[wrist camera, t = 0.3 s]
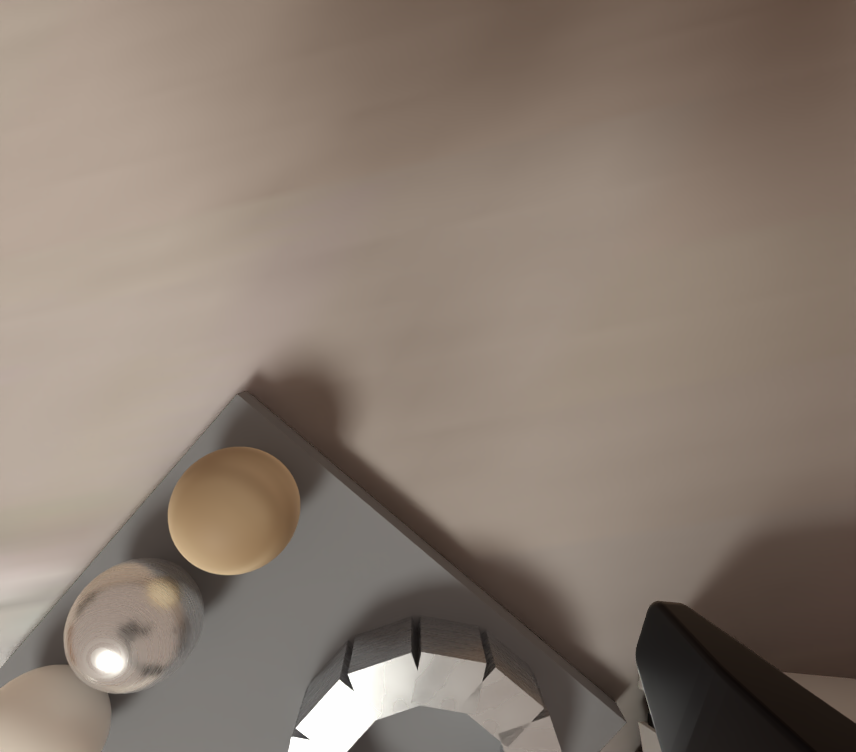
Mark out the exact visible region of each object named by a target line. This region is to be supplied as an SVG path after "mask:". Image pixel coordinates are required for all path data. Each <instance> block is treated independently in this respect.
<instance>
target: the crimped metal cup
mask: <svg viewBox="0 0 856 752" xmlns="http://www.w3.org/2000/svg"><path fill="white" fill-rule="evenodd" d="M417 706H426V707H432V708H438V709H444V710H450V711H456V712H461V713H466V714H468V715H469V716H470V717H471V718H472V719H474V720H475V721H476V722H477V723H479V724H480V725H481V726H482V727H483V728H485V729H486V730H487V731H488V732H489V733H491V734H492V735H493V736H494V737H496V738H497V739H498V740H499V741H500V742H501V747H500V752H562V751H561V748H560V745H559V742H558V739H557V736H556V733H555V730H554V727H553V724H552V721H551V718H550V715H549V713H548V710H547V707H546V704H545V701H544V699H543V696H542V693H541V690H540V687H539V685H538V682H537V679H536V676H535V673H532V672H531V669H530V666H529V665H528V664H527V663H526V662H524V661H523V660H522V659H521V658H520V657H519V656H517V655H516V654H515V653H514V652H513V651H511V650H510V649H509V648H508V647H507V646H505V645H504V644H503V643H502V642H501V641H499V640H498V639H497V638H496V637H495V636H493V635H492V634H491V633H490V632H489V631H488V630H485V631H484V632H483V633H482V634H481V636H480V632H479V628H478V625H472V624H466V623H461V622H455V621H450V620H444V619H438V618H433V617H427V616H421V615H420V620H419V625H418V630H417V631H416V628H415V625H414V622H413V619H412V616H410V617H407V618H404V619H401V620H398V621H395V622H392V623H389V624H386V625H383V626H381V627H378V628H375V629H372V630H369V631H366V632H363V633H360V634H357V635H355V640H354V645H353V644H352V643H351V642H350V641H348V640H347V642H346V643H345V644H344V645H343V646H342V647H341V648H340V649H339V650H338V652H337V653H336V654H335V655H334V656H333V657H332V658H331V659H330V661H329V662H328V663H327V664H326V665H325V666H324V667H323V668H322V669H321V671H320V672H319V673H318V674H317V675H316V676H315V677H314V678H313V679H312V681H311V682H310V683H309V686H308V689H307V691H305V694H304V697H303V701H302V704H301V707H300V711H299V714H298V717H297V721H296V724H295V727H294V730H293V734H292V737H291V742H290V747H289V752H347V751H348V750H349V749H350V748H351V747H352V746H353V745H354V743H355V742H356V741H357V740H358V739H359V738H360V737H361V736H362V735H363V733H364V732H365V731H366V730H367V729H368V728H369V727H370V726H371V725H372V724H373V722H374V721H376V720H378V719H381V718H384V717H387V716H390V715H393V714H396V713H399V712H402V711H405V710H408V709H411V708H414V707H417Z"/></svg>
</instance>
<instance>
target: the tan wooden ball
mask: <svg viewBox="0 0 856 752" xmlns="http://www.w3.org/2000/svg"><path fill="white" fill-rule="evenodd" d="M299 516H300V495H299V490H298V487H297V484H296V482H295V480H294V478H293V476H292V474H291V473H290V471H289V470H288V469H287V468H286V466H285V465H284V464H283V463H282V462H281V461H279V460H278V459H277V458H275V457H274V456H272V455H270V454H269V453H267V452H264V451H262V450H259V449H255V448H251V447H229V448H224V449H220V450H217V451H214V452H212V453H209V454H207V455H205V456H204V457H202V458H200V459H199V460H198V461H196V462H195V463H194V464H192V465H191V466H190V467H189V468H188V469H187V470H186V471H185V472H184V474H183V475H182V476H181V478H180V479H179V481H178V482H177V484H176V486H175V488H174V490H173V492H172V495H171V498H170V502H169V506H168V525H169V531H170V534H171V537H172V540H173V542H174V544H175V546H176V547H177V549H178V550H179V552H180V553H181V554H182V555H183V557H185V558H186V559H187V560H188V561H189V562H190V563H192V564H193V565H194V566H196V567H198V568H200V569H202V570H204V571H207V572H210V573H214V574H220V575H238V574H244V573H247V572H251V571H254V570H256V569H259V568H261V567H262V566H264V565H266V564H268V563H269V562H270V561H272V560H273V559H274V558H276V557H277V556H278V555H279V554H280V553H281V552H282V551H283V550H284V548H285V547H286V546H287V544H288V543H289V542H290V540H291V538H292V537H293V535H294V532H295V530H296V527H297V525H298V521H299Z"/></svg>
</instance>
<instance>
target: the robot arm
mask: <svg viewBox="0 0 856 752" xmlns="http://www.w3.org/2000/svg"><path fill="white" fill-rule="evenodd" d="M636 664H637V668H638V672H639V675H640V679H641V682H642V686H643V689H644V693H645V696H646V700H647V703H648V707H649V710H650V713H651V717H652V720H653V724H654V727H655V731H656V734H657V738H658V741H659V745H660V748H661V752H856V723H855V722H853V721H852V720H850V719H849V718H848V717H846V716H845V715H843V714H842V713H840V712H839V711H837V710H836V709H835V708H833V707H832V706H830V705H829V704H827V703H826V702H825V701H823V700H822V699H820V698H819V697H817V696H816V695H814V694H813V693H812V692H810V691H809V690H807V689H806V688H804V687H803V686H801V685H800V684H799V683H797V682H796V681H794V680H793V679H791V678H790V677H789V676H787V675H786V674H784V673H783V672H781V671H780V670H778V669H777V668H776V667H774V666H773V665H771V664H770V663H768V662H767V661H765V660H764V659H763V658H761V657H760V656H758V655H757V654H755V653H754V652H752V651H751V650H750V649H748V648H747V647H745V646H744V645H742V644H741V643H740V642H738V641H737V640H735V639H734V638H732V637H731V636H729V635H728V634H727V633H725V632H724V631H722V630H721V629H719V628H718V627H716V626H715V625H714V624H712V623H711V622H709V621H708V620H706V619H705V618H704V617H702V616H701V615H699V614H698V613H696V612H695V611H693V610H692V609H691V608H689V607H688V606H686V605H684V604H681V603H675V602H664V601H656V602H653V603H652V604H651V605H650V607H649V609H648V611H647V615H646V618H645V621H644V624H643V627H642V631H641V634H640V637H639V640H638V643H637V647H636Z"/></svg>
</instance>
